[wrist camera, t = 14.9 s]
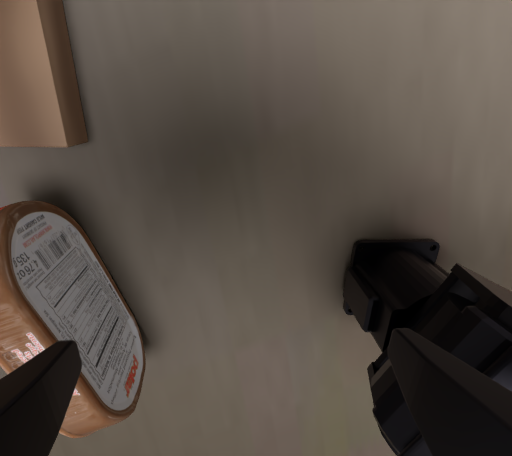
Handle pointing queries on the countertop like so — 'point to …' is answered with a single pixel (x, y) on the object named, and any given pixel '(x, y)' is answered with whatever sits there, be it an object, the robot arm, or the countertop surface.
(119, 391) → the tin
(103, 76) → the countertop surface
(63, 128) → the shelf board
